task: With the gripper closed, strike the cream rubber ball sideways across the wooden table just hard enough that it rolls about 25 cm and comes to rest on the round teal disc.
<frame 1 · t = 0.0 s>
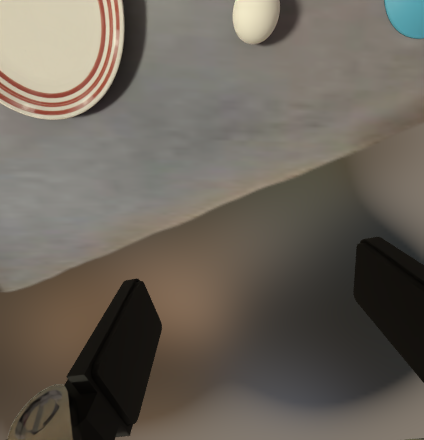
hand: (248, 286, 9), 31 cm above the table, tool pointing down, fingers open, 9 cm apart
ball: (255, 14, 27), on the table
dinner plate: (37, 15, 30), on the table
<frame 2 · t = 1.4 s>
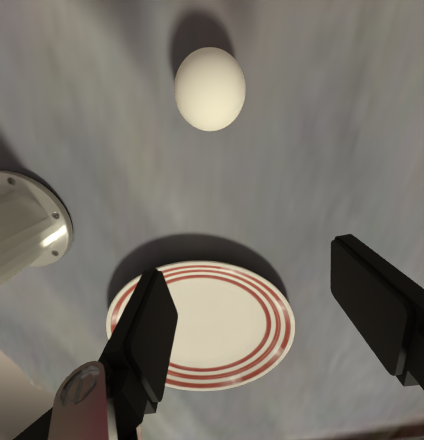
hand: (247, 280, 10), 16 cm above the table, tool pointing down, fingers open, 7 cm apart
ball: (209, 92, 18), on the table
dinner plate: (202, 320, 33), on the table
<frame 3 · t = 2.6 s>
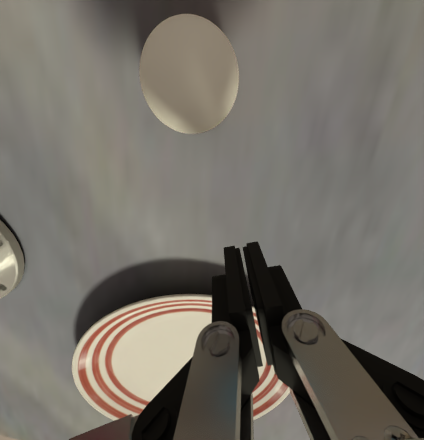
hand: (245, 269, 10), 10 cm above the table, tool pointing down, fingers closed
ball: (190, 81, 13), on the table
dinner plate: (191, 355, 28), on the table
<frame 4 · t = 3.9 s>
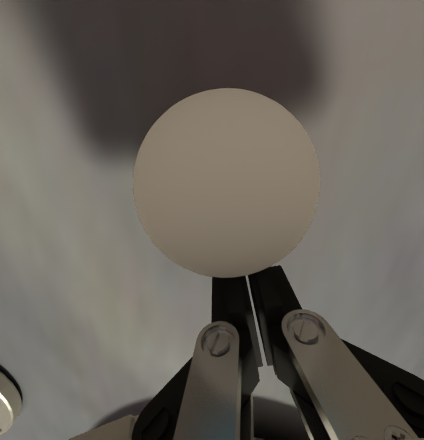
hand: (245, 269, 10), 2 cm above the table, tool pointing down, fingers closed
ball: (224, 189, 7), on the table
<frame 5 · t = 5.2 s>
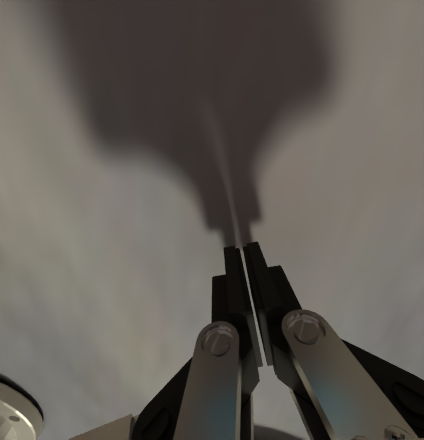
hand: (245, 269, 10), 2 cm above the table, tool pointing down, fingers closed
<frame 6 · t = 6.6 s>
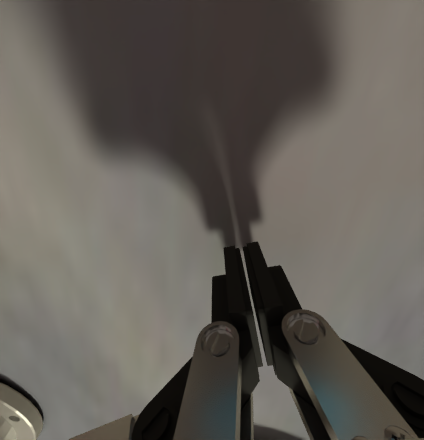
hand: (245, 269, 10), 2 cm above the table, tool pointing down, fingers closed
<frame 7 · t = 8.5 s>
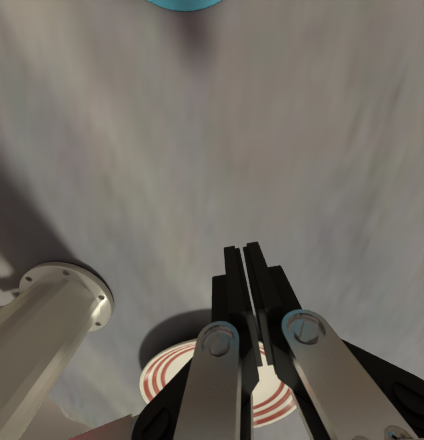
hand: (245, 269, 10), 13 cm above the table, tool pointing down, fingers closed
dinner plate: (222, 372, 37), on the table
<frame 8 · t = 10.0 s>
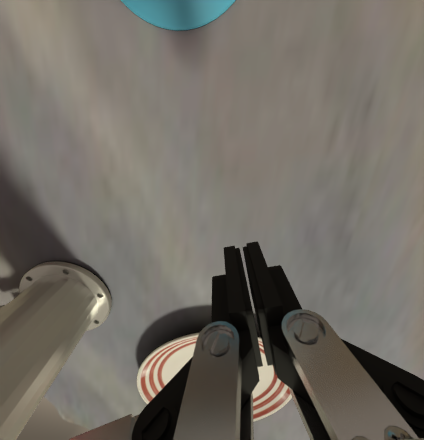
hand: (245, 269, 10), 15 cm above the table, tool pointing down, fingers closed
dinner plate: (217, 368, 38), on the table
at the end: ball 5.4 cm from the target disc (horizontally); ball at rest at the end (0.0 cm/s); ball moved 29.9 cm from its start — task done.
